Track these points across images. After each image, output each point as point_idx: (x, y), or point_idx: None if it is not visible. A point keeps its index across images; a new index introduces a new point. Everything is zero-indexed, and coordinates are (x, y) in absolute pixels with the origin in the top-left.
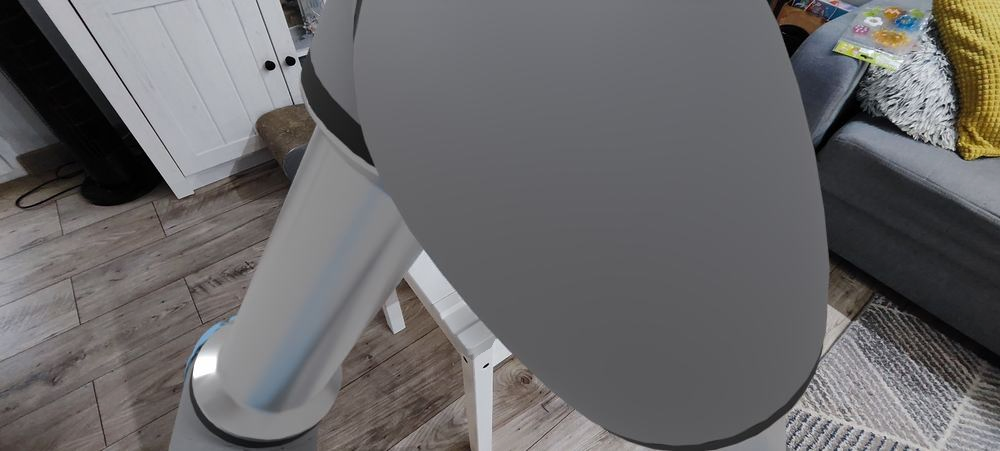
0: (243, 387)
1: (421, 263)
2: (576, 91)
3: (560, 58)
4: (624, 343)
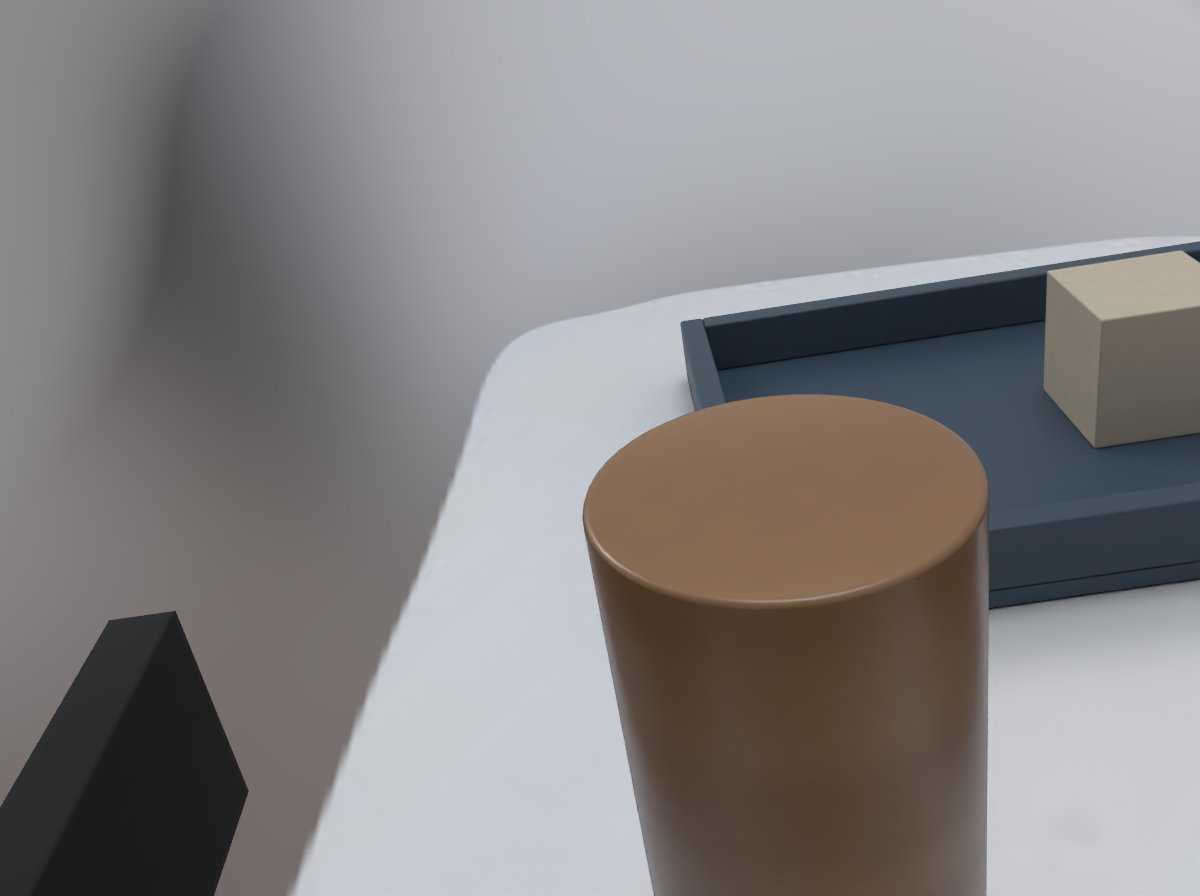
0: None
1: (383, 886)
2: None
3: None
4: None
